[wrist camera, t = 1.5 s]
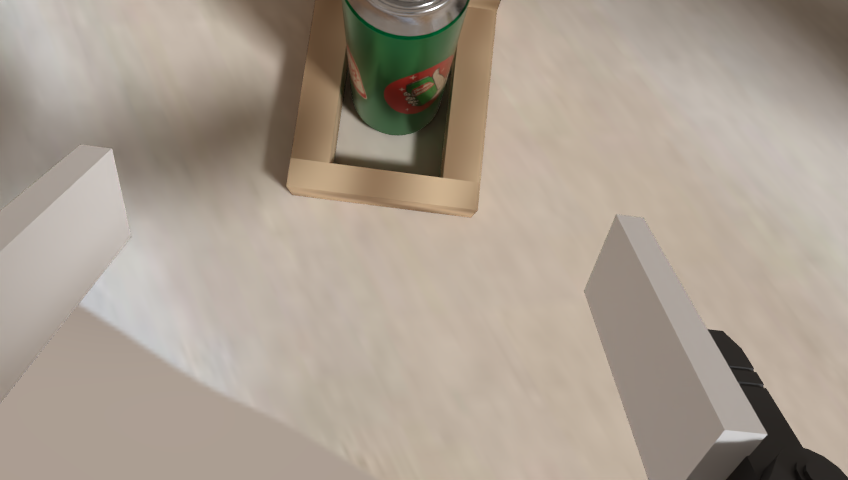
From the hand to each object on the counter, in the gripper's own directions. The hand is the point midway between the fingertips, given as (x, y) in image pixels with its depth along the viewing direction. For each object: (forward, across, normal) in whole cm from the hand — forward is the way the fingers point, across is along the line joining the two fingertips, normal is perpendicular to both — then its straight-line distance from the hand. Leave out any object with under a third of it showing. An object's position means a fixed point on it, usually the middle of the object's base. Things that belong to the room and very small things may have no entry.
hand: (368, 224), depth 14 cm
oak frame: (+18, 0, +3) cm, 18 cm away
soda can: (+18, 0, +4) cm, 18 cm away
